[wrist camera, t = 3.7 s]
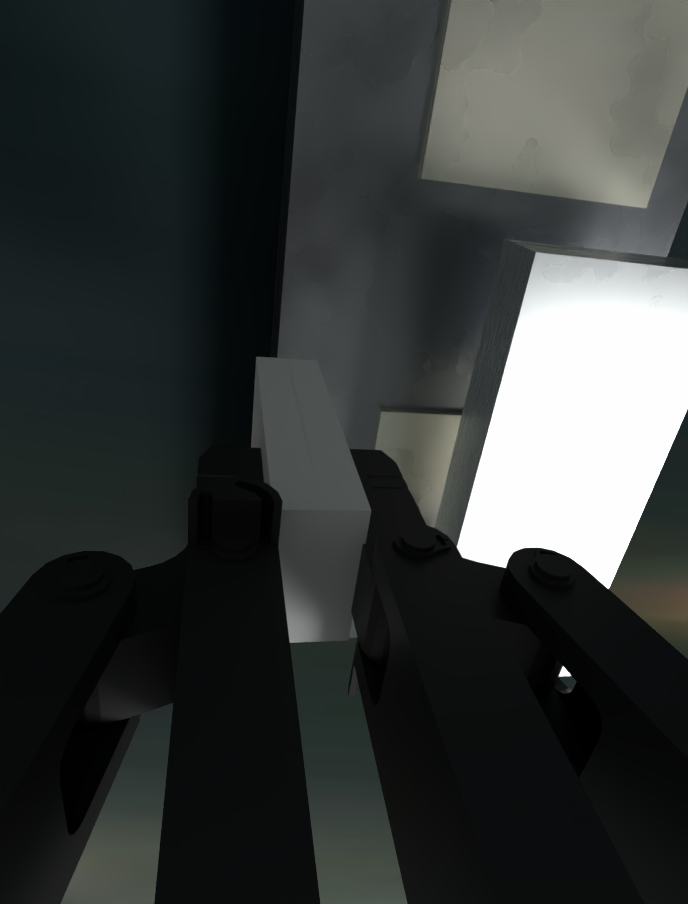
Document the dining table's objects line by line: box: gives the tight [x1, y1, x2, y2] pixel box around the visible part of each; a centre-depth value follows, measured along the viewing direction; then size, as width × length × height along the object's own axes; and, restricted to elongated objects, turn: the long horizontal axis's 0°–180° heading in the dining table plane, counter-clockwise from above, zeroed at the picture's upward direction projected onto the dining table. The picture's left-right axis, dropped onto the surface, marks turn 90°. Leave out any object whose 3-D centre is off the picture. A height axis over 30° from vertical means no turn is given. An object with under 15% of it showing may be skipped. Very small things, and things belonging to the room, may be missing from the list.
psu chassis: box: [270, 0, 688, 638], centre depth 19 cm, size 12×26×5 cm, turn 173°
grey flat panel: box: [435, 239, 688, 676], centre depth 19 cm, size 6×18×2 cm, turn 173°
